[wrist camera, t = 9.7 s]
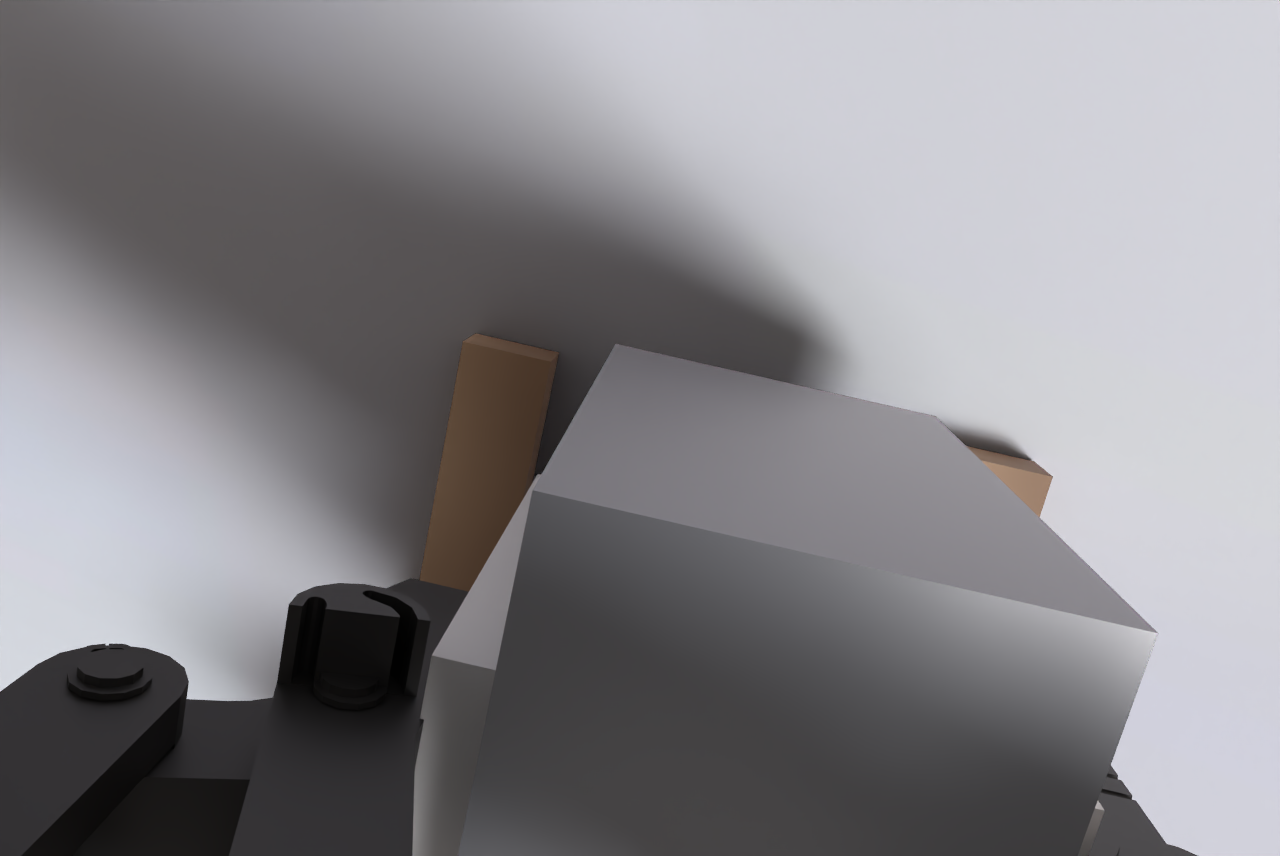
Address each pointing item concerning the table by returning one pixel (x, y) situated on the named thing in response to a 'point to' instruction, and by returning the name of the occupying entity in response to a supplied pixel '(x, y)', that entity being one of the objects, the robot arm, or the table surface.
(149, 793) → the robot arm
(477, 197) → the table surface
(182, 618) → the table surface
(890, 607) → the plug block
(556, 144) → the table surface
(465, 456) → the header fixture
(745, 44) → the table surface
